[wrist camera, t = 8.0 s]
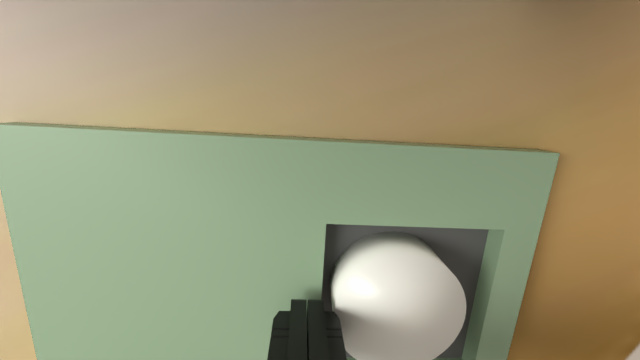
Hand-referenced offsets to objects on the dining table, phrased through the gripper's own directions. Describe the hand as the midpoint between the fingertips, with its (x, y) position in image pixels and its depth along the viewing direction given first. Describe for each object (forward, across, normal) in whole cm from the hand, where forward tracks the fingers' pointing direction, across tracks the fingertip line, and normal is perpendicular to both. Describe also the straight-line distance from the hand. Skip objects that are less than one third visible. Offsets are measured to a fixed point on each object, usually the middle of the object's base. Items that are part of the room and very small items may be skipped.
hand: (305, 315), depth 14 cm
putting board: (+2, +1, 0) cm, 2 cm away
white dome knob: (+2, -4, 0) cm, 5 cm away
